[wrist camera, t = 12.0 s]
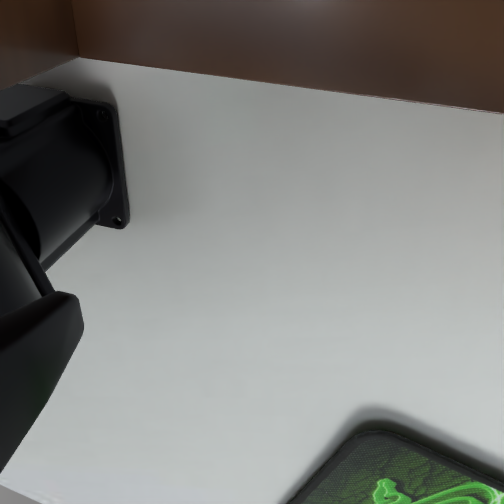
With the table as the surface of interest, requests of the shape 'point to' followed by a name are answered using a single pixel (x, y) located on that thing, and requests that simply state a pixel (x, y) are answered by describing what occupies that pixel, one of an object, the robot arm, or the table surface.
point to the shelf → (276, 43)
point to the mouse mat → (396, 476)
